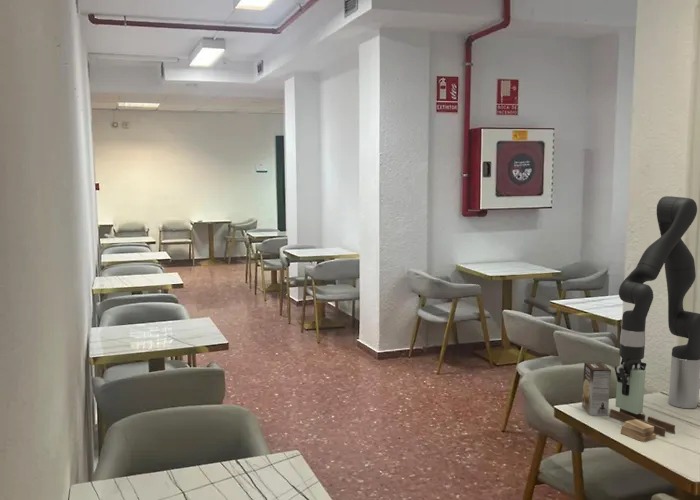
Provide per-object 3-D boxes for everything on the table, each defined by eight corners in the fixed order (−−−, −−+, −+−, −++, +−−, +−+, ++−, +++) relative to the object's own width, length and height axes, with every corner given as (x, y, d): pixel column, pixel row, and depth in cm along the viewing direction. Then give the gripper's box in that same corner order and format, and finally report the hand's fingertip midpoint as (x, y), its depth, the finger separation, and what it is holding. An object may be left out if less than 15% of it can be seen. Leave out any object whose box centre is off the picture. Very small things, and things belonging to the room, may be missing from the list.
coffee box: (580, 406, 232) (583, 361, 230) (599, 406, 232) (602, 361, 230) (589, 415, 223) (592, 369, 221) (609, 416, 223) (611, 369, 221)
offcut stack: (632, 429, 212) (633, 417, 211) (655, 438, 205) (656, 426, 204) (619, 433, 209) (620, 421, 208) (643, 442, 202) (643, 430, 201)
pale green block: (621, 405, 224) (624, 364, 222) (642, 412, 217) (645, 371, 215) (615, 406, 222) (618, 365, 220) (636, 414, 215) (639, 372, 214)
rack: (620, 413, 226) (621, 406, 225) (674, 433, 209) (675, 425, 209) (609, 416, 223) (610, 409, 222) (663, 436, 206) (663, 429, 206)
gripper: (635, 338, 224) (632, 387, 226) (608, 342, 217) (605, 394, 219) (656, 343, 218) (652, 394, 220) (628, 348, 210) (625, 401, 212)
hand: (628, 393), depth 219 cm, fingers closed on pale green block, 3 cm apart
